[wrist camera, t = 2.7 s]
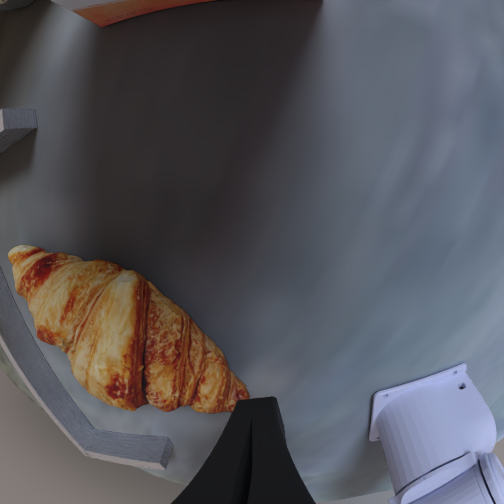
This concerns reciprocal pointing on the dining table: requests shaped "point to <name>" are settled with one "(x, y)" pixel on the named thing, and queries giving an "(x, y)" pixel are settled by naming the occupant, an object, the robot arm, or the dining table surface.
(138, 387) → the croissant
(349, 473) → the dining table surface
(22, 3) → the liquor
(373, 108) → the dining table surface
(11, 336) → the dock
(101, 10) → the cracker box
